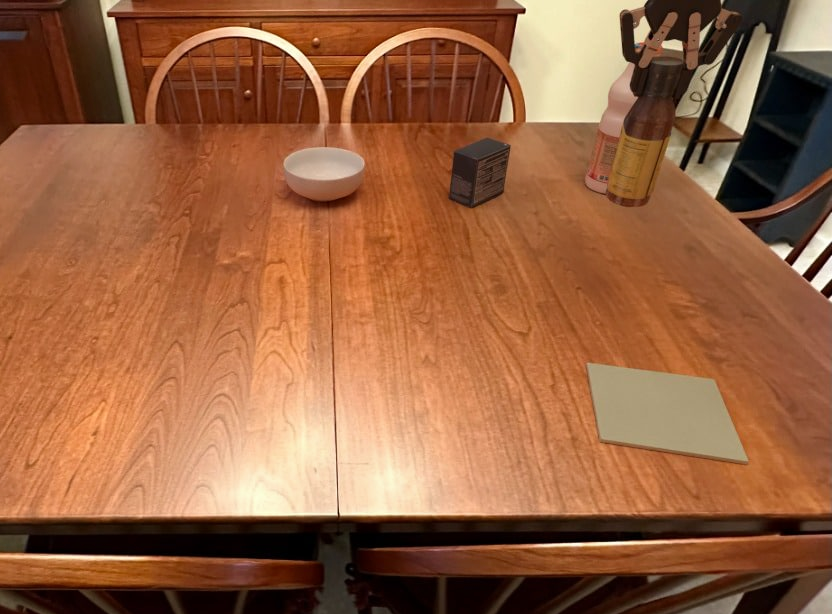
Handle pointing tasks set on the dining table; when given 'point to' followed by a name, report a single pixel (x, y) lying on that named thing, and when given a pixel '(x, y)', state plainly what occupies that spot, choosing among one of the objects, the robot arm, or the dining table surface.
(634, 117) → the sauce bottle
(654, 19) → the robot arm
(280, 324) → the dining table surface
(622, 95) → the fruit juice
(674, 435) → the mat
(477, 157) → the small box
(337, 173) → the cereal bowl
